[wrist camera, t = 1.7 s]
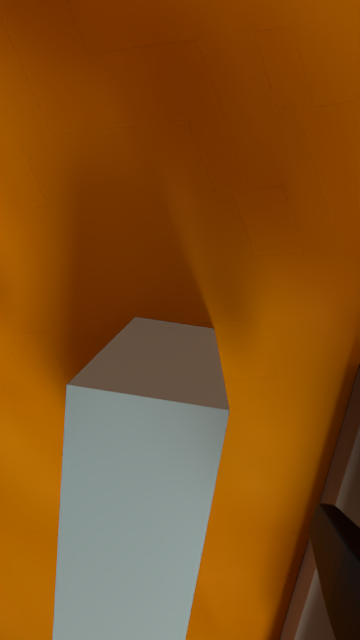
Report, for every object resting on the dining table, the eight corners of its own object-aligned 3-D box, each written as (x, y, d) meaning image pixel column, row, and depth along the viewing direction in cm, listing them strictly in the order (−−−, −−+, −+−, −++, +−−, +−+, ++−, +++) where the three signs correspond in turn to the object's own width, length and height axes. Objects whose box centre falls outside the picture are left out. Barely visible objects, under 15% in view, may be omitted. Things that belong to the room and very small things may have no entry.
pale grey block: (214, 328, 11) (229, 410, 5) (187, 485, 13) (177, 680, 7) (135, 316, 11) (66, 384, 5) (118, 473, 13) (51, 656, 7)
